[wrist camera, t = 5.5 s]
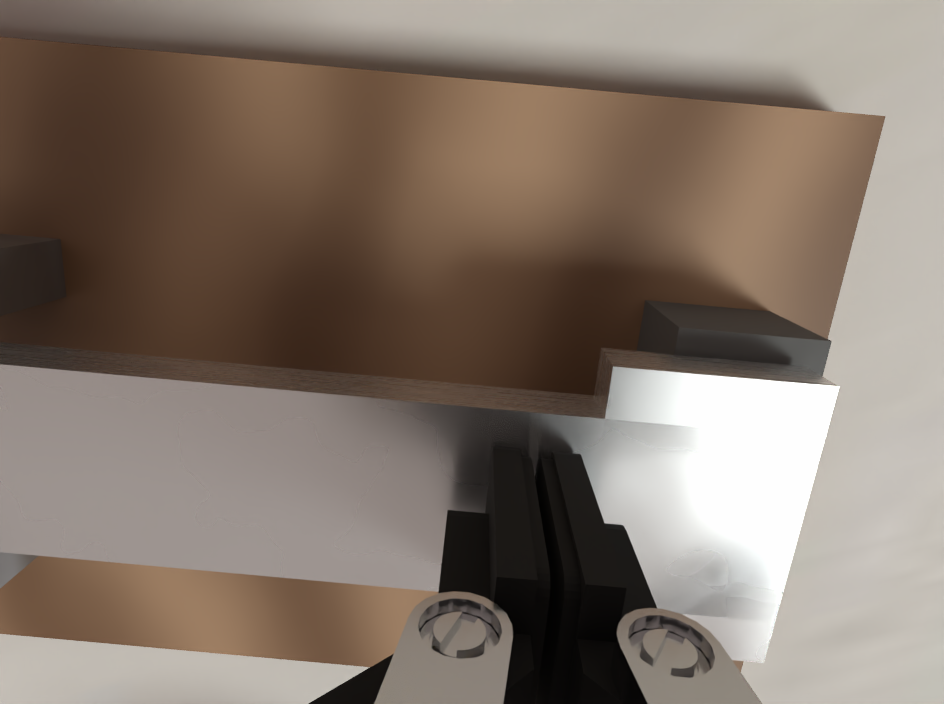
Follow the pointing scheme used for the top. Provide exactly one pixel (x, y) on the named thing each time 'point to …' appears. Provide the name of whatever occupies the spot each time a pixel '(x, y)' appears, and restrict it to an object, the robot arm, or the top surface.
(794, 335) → the catch block
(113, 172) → the walnut board
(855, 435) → the top surface
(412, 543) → the lever
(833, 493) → the top surface
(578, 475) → the robot arm
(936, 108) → the top surface
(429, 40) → the top surface
